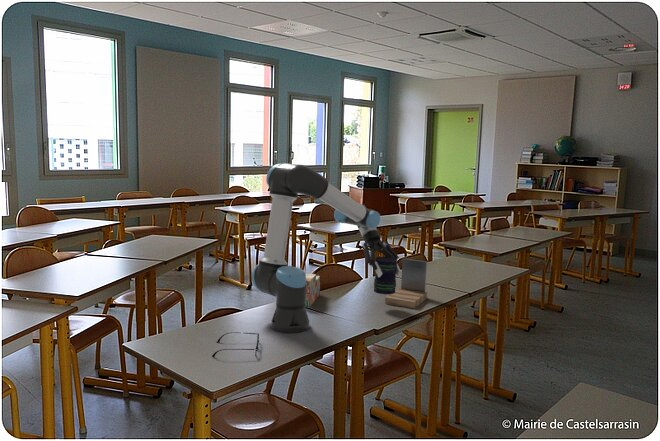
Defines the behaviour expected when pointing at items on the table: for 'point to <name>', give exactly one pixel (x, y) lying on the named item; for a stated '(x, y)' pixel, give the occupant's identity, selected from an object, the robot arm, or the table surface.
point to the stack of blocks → (312, 288)
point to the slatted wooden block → (406, 298)
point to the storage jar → (386, 275)
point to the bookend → (414, 275)
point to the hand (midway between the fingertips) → (389, 274)
